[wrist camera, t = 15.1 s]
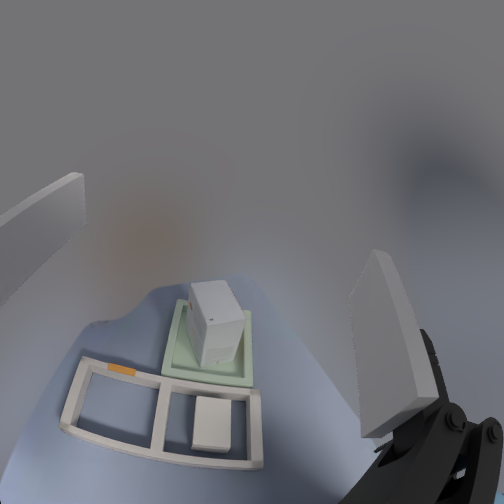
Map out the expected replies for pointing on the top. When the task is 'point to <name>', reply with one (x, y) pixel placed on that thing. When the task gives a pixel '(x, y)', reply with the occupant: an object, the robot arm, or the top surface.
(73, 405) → the beige divided frame
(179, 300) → the tray
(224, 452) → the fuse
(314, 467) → the top surface
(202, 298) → the small box
